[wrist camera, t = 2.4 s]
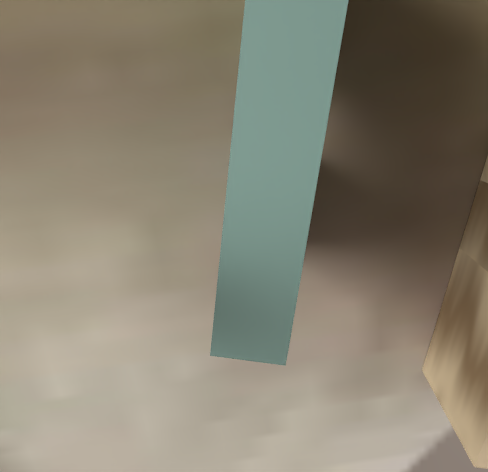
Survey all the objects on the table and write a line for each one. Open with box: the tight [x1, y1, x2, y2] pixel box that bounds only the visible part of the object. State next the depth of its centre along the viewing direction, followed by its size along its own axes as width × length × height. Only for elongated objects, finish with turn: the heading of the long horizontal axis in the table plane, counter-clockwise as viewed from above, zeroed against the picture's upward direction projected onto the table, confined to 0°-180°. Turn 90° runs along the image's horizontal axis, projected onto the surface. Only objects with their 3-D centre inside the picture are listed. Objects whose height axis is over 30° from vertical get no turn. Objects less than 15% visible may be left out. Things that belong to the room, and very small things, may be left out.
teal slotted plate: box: [210, 0, 348, 365], centre depth 16 cm, size 2×14×11 cm, turn 174°
